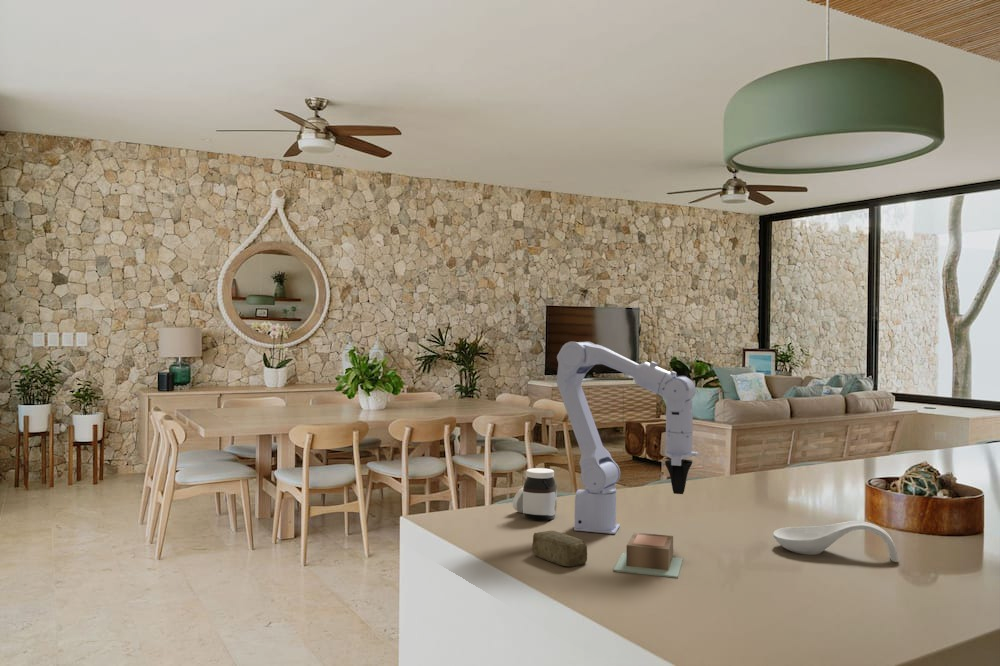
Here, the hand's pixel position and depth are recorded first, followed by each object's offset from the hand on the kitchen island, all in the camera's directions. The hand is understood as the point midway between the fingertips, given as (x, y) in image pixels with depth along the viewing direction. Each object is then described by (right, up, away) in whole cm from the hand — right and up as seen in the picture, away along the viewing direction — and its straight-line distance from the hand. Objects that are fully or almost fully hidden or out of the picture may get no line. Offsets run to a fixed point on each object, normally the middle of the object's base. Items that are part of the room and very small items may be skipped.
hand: (678, 493), depth 163 cm
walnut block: (-8, -8, -11) cm, 16 cm away
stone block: (-27, -11, -14) cm, 33 cm away
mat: (-10, -10, -18) cm, 23 cm away
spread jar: (-31, -11, +22) cm, 39 cm away
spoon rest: (+30, -11, -8) cm, 33 cm away
